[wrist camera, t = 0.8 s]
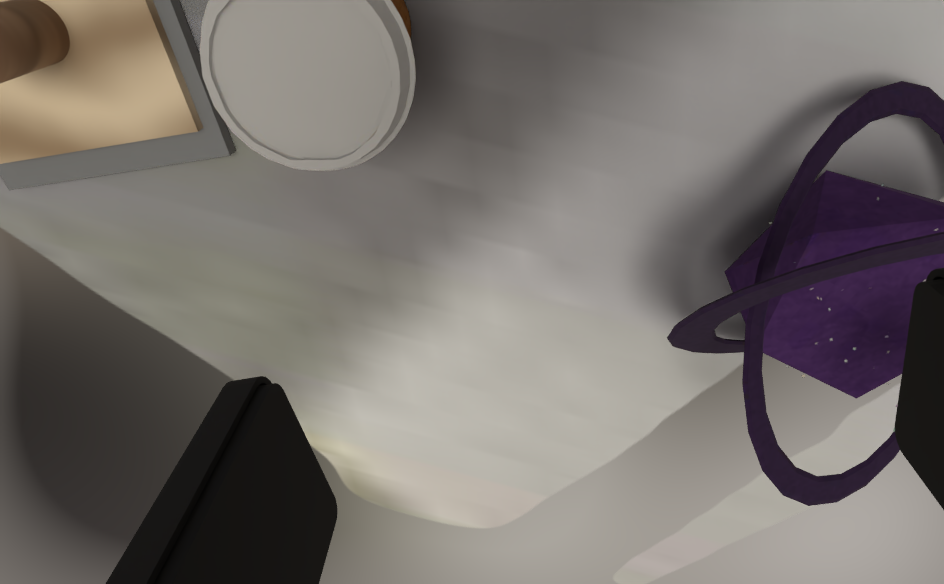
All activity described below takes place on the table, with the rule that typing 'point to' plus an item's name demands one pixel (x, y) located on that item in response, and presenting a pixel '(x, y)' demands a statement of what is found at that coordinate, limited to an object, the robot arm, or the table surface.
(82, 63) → the oak lid
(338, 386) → the table surface
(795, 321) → the decorative bottle
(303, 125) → the disposable coffee cup
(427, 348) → the table surface
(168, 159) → the rubber mat
